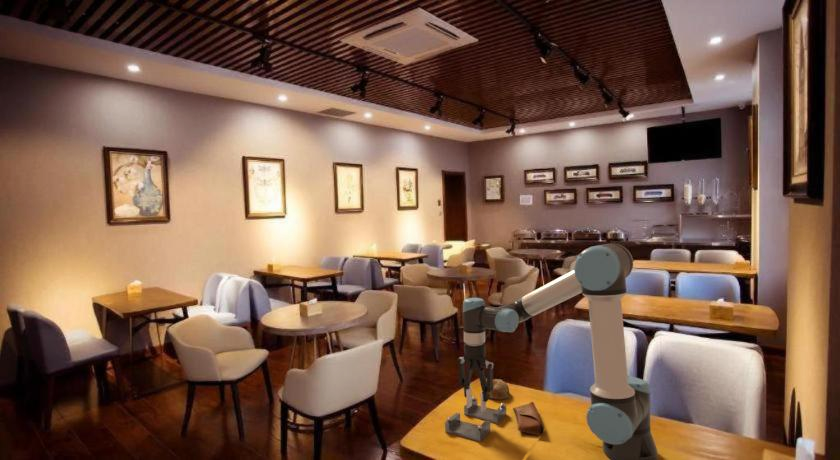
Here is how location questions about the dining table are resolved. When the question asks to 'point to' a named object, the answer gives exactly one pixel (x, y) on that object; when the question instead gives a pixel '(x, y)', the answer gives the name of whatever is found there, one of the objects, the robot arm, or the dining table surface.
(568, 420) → the dining table surface
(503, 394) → the bread roll
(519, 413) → the sunglasses case
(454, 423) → the bent steel plates
